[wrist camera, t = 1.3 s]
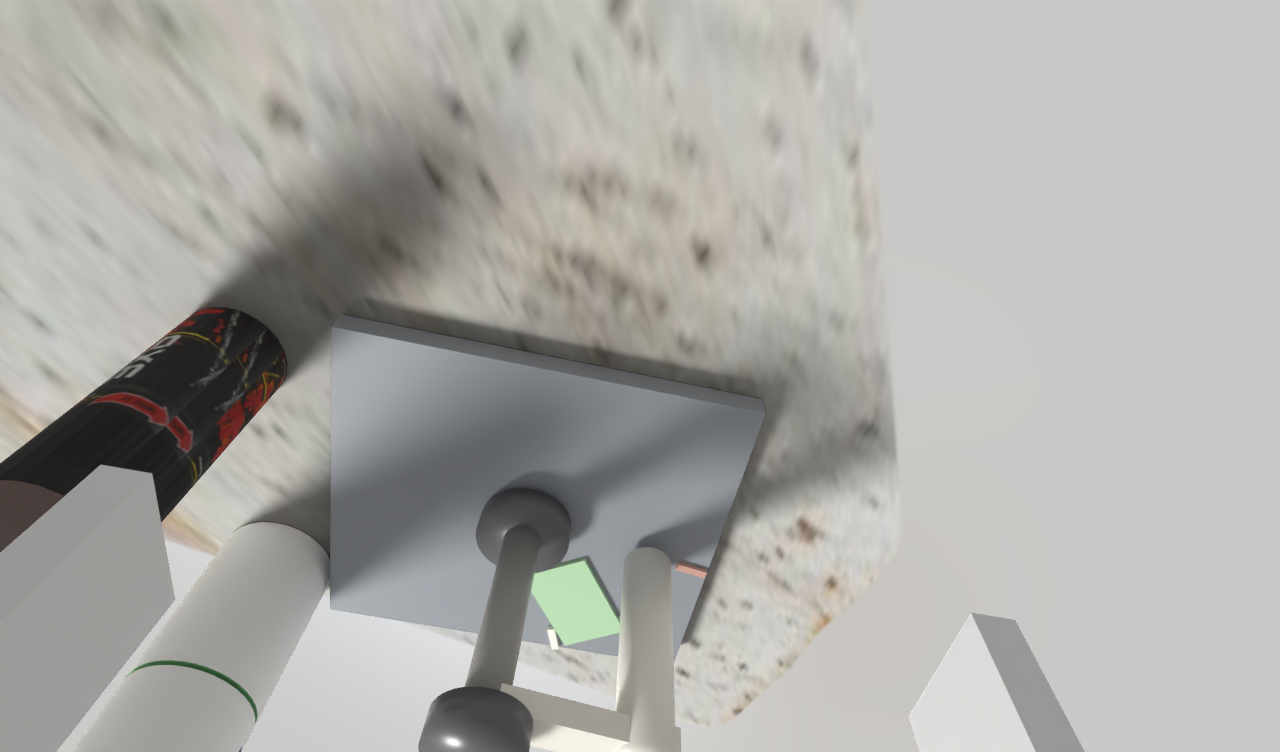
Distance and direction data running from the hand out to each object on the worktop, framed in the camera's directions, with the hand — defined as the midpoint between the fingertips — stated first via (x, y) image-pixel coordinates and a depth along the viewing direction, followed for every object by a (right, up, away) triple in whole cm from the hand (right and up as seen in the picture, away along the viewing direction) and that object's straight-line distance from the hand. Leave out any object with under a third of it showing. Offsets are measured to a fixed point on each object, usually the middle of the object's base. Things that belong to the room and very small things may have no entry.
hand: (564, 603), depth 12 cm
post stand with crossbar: (-3, -6, +33) cm, 34 cm away
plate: (-6, -5, +34) cm, 35 cm away
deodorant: (-22, +5, +29) cm, 37 cm away
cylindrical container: (-23, -9, +37) cm, 45 cm away
